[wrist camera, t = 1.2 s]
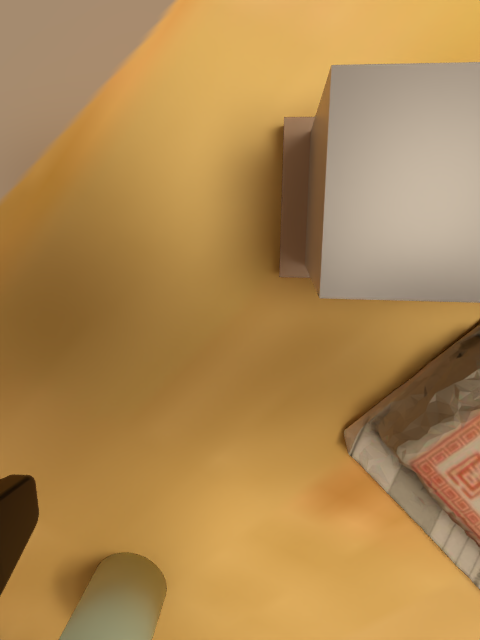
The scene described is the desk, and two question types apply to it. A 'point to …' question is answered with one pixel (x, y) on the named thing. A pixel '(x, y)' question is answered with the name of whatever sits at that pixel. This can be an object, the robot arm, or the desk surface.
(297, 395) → the desk surface
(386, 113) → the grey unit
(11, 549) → the robot arm
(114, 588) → the sage part
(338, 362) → the desk surface
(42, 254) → the desk surface
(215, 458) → the desk surface
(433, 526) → the packaged product
